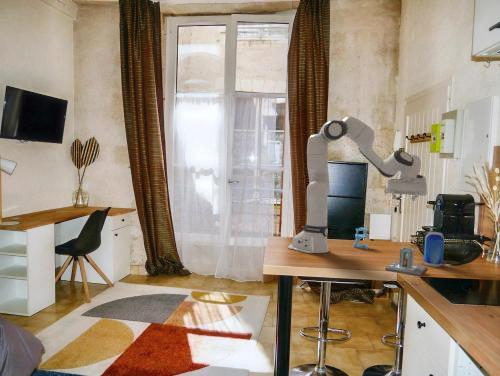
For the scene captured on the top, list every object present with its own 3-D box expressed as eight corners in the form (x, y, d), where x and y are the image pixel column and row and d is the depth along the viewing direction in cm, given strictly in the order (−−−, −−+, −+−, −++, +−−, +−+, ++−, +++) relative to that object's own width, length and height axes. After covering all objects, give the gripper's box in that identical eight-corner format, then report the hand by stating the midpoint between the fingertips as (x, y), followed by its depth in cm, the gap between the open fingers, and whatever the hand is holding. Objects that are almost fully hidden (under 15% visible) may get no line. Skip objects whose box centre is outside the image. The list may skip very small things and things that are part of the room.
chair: (352, 245, 233) (353, 225, 232) (367, 246, 231) (368, 226, 231) (353, 248, 226) (354, 227, 225) (368, 249, 224) (369, 228, 223)
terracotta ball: (402, 267, 183) (399, 262, 183) (403, 263, 185) (401, 258, 185) (408, 266, 181) (406, 261, 181) (409, 263, 184) (407, 257, 183)
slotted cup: (399, 267, 183) (400, 249, 182) (401, 264, 187) (402, 247, 186) (410, 268, 180) (411, 250, 179) (412, 266, 184) (413, 249, 184)
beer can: (424, 265, 191) (426, 233, 190) (423, 261, 199) (425, 230, 198) (443, 268, 188) (445, 235, 187) (441, 263, 196) (443, 232, 195)
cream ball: (404, 252, 183) (410, 252, 184) (402, 256, 185) (407, 256, 186) (408, 257, 181) (413, 257, 182) (405, 261, 183) (410, 261, 184)
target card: (385, 269, 181) (385, 267, 181) (393, 263, 194) (393, 260, 194) (419, 276, 173) (420, 273, 173) (426, 268, 186) (426, 266, 186)
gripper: (387, 174, 212) (381, 193, 204) (428, 176, 200) (423, 196, 193) (389, 182, 216) (383, 201, 208) (429, 185, 204) (424, 204, 197)
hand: (403, 199), depth 200 cm, fingers open, 8 cm apart
